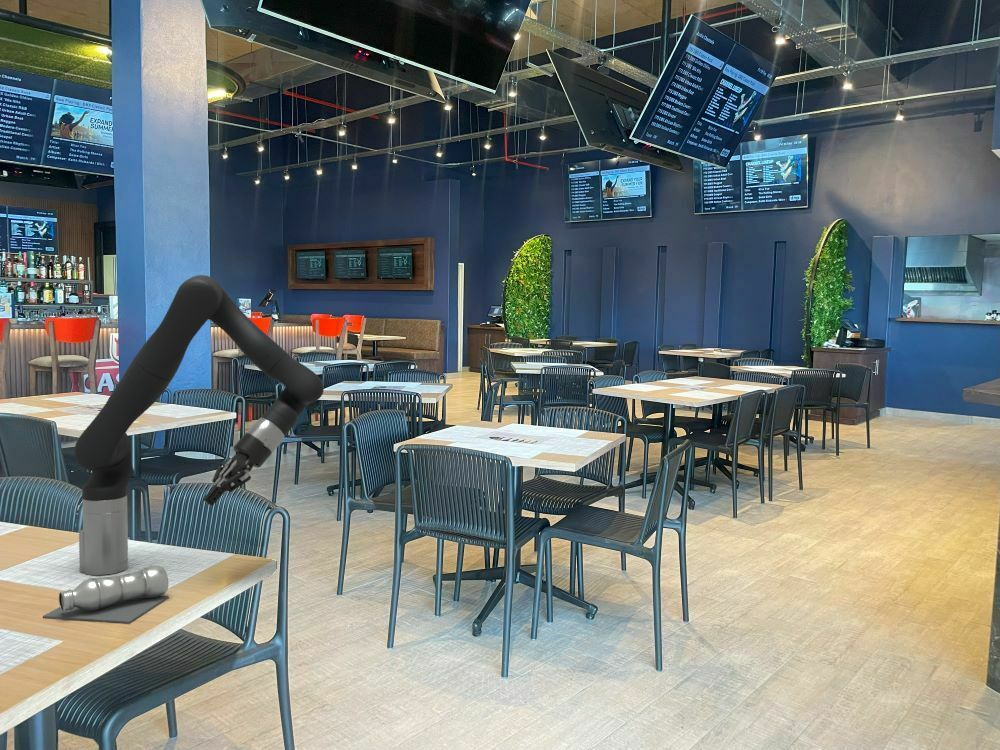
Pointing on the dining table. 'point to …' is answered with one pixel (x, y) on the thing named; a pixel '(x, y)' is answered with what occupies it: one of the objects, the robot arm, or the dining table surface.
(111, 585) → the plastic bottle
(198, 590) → the dining table surface
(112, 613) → the rubber mat
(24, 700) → the dining table surface
